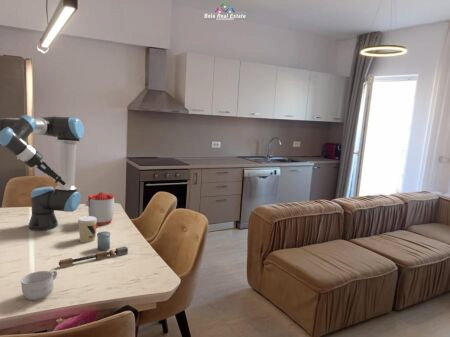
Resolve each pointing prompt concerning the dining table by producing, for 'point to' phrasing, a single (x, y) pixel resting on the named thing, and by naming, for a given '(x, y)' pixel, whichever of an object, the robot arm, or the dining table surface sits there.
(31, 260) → the dining table surface
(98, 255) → the cord rig
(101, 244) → the dome-topped knob
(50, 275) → the teacup
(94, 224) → the coffee cup
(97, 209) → the citrus juicer
